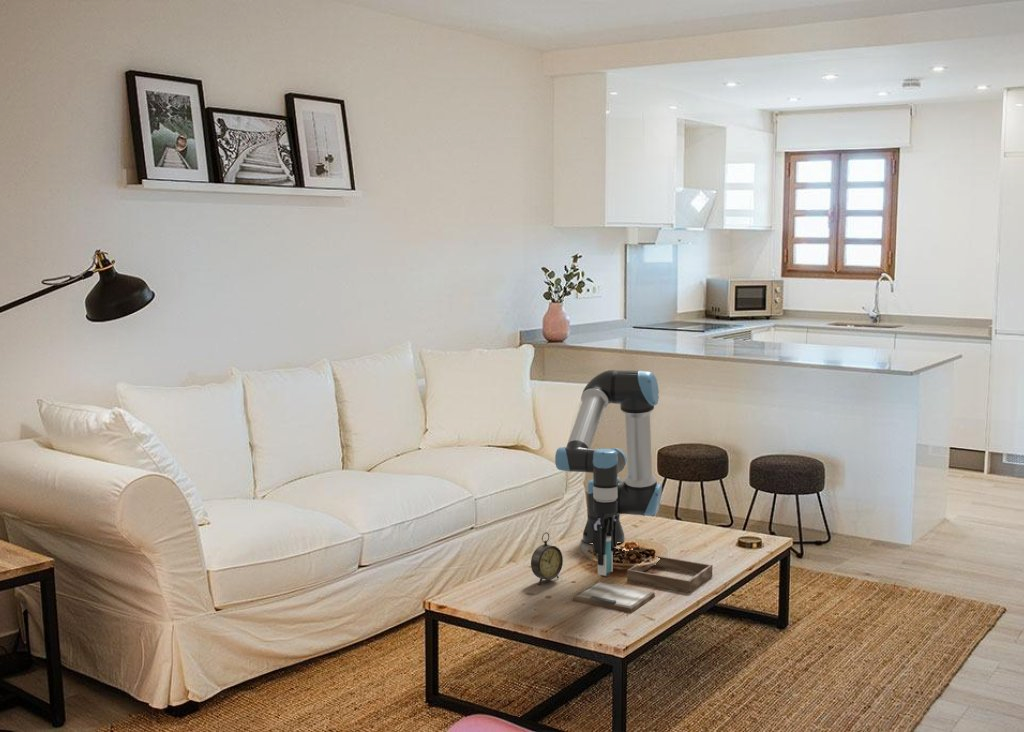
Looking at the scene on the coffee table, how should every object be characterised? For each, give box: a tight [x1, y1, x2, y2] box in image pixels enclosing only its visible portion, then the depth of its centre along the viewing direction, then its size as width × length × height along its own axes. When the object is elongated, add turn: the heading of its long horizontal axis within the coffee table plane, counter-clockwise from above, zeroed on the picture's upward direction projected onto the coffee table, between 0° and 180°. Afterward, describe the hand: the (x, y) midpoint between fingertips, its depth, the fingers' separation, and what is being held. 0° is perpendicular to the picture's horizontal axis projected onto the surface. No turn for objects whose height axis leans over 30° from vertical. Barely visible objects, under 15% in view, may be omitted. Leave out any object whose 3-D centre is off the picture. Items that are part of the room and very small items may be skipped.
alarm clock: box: [530, 531, 564, 586], centre depth 335 cm, size 11×5×16 cm, turn 133°
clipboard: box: [572, 581, 656, 613], centre depth 319 cm, size 16×20×2 cm
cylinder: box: [600, 535, 612, 578], centre depth 323 cm, size 4×4×12 cm
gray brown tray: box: [626, 555, 713, 593], centre depth 337 cm, size 19×22×4 cm
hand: (605, 572), depth 324 cm, fingers closed on cylinder, 3 cm apart
